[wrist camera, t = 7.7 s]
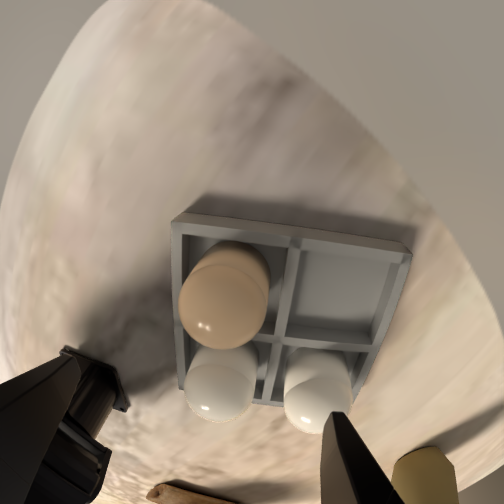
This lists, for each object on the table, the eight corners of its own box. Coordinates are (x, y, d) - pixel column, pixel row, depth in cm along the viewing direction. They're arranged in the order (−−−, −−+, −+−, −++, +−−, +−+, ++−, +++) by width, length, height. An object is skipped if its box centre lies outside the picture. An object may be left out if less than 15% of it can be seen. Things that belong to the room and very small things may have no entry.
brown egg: (265, 311, 17) (256, 374, 13) (197, 300, 18) (167, 357, 13) (275, 246, 16) (269, 297, 11) (199, 235, 16) (162, 280, 11)
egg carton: (346, 394, 20) (349, 411, 19) (185, 373, 21) (178, 389, 19) (401, 242, 15) (413, 254, 14) (182, 212, 16) (171, 221, 15)
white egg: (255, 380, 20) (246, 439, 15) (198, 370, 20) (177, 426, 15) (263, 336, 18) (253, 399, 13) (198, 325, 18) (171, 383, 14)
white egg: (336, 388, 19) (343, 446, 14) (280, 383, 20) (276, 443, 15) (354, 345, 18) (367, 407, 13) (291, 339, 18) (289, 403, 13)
